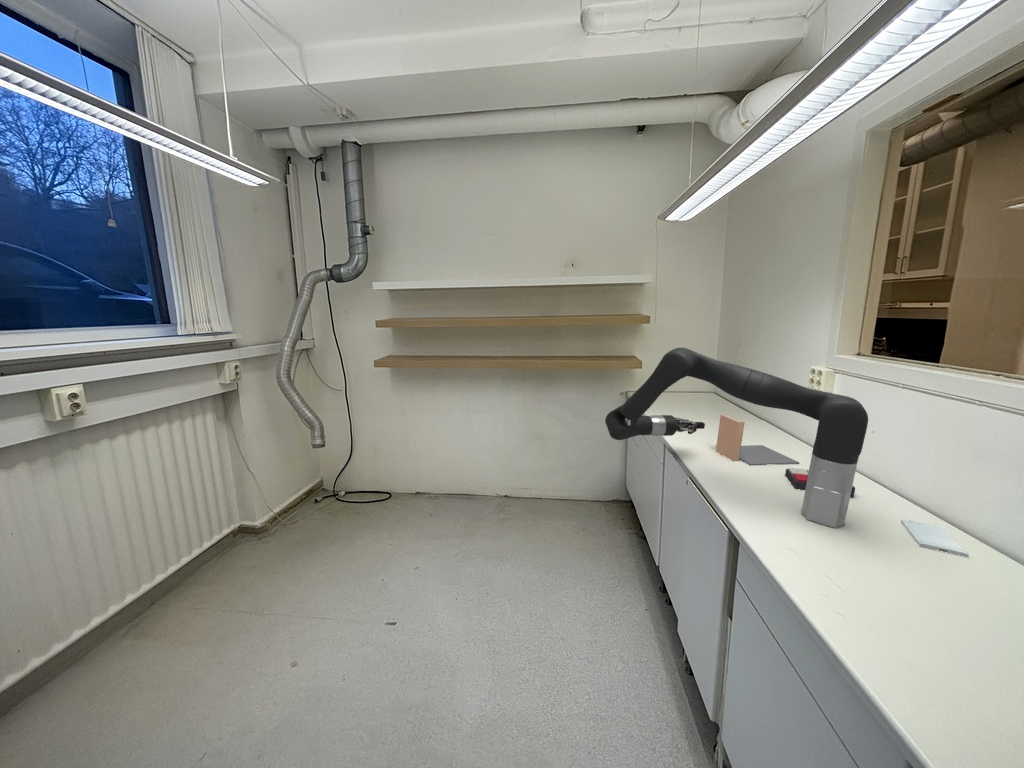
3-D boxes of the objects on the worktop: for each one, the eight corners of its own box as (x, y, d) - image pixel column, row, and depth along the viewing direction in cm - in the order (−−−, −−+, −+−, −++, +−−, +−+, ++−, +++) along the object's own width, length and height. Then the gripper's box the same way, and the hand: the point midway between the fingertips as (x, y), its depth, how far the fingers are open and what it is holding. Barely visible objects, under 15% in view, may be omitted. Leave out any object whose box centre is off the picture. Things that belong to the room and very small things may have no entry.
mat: (749, 465, 139) (749, 464, 139) (717, 447, 156) (717, 446, 156) (799, 463, 142) (799, 462, 142) (762, 446, 159) (762, 445, 159)
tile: (733, 461, 142) (738, 422, 140) (715, 451, 152) (720, 414, 149) (739, 461, 143) (745, 422, 140) (721, 451, 152) (726, 414, 150)
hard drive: (901, 518, 103) (920, 542, 92) (944, 527, 99) (969, 553, 88) (900, 524, 103) (918, 548, 93) (943, 533, 99) (967, 560, 89)
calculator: (785, 466, 131) (840, 471, 125) (784, 478, 131) (838, 483, 126) (796, 479, 121) (856, 485, 115) (794, 492, 121) (854, 498, 116)
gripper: (670, 421, 134) (716, 421, 137) (652, 410, 147) (694, 410, 149) (667, 441, 136) (713, 441, 138) (650, 429, 149) (691, 429, 151)
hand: (703, 425), depth 144 cm, fingers closed
